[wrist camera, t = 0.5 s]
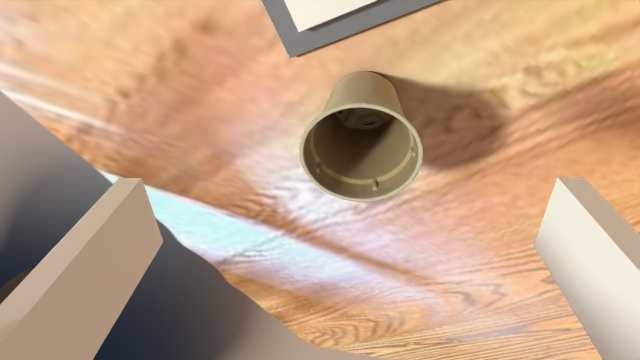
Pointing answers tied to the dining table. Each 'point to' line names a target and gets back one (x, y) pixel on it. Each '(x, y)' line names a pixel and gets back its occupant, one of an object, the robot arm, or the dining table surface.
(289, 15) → the mat
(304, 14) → the lid
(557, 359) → the dining table surface
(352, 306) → the dining table surface
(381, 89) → the flower pot
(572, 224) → the robot arm
